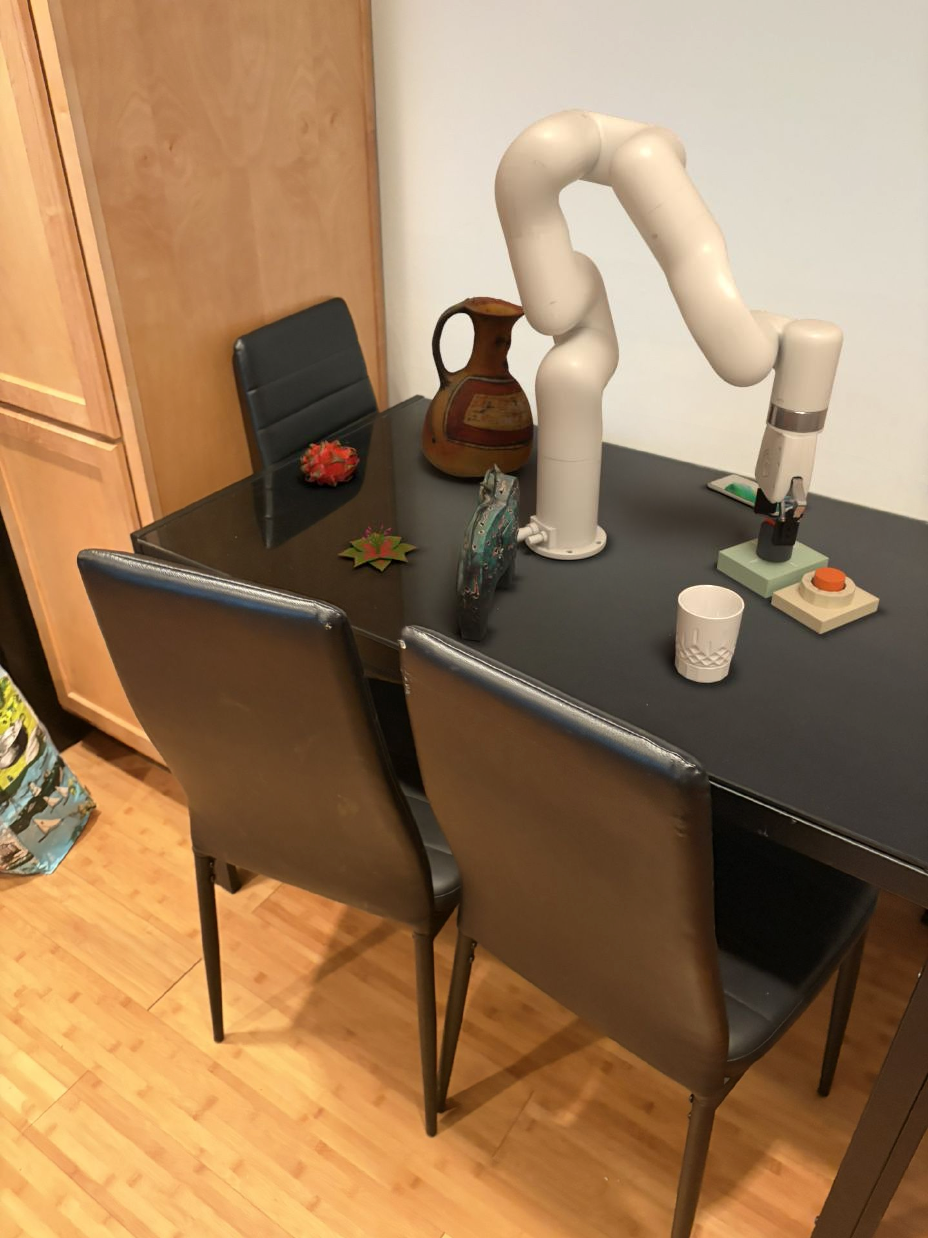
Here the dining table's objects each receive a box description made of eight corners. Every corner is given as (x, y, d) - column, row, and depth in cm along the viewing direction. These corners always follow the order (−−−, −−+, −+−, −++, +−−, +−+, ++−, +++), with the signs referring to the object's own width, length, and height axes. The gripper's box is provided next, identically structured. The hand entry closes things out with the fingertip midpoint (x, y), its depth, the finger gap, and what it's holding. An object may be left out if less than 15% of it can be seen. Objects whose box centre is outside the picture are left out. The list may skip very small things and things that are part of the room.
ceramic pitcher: (535, 489, 169) (539, 316, 152) (420, 491, 169) (411, 318, 153) (530, 445, 185) (533, 285, 169) (425, 447, 185) (418, 287, 169)
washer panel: (765, 598, 137) (768, 579, 135) (716, 568, 144) (719, 550, 142) (825, 575, 142) (829, 556, 140) (775, 548, 149) (778, 529, 147)
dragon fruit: (297, 497, 171) (357, 489, 178) (314, 484, 164) (376, 476, 171) (286, 451, 172) (346, 445, 178) (303, 435, 165) (365, 430, 171)
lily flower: (373, 529, 157) (371, 504, 155) (432, 549, 151) (431, 523, 149) (323, 560, 149) (320, 533, 146) (383, 582, 143) (381, 554, 140)
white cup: (663, 652, 126) (670, 586, 121) (722, 648, 127) (732, 582, 121) (679, 688, 120) (688, 620, 114) (742, 684, 120) (753, 616, 115)
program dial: (798, 557, 141) (804, 527, 138) (773, 565, 139) (778, 536, 136) (774, 543, 144) (779, 514, 142) (748, 551, 142) (753, 522, 140)
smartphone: (733, 472, 171) (803, 501, 160) (733, 477, 171) (803, 506, 161) (705, 482, 167) (775, 513, 157) (705, 487, 168) (774, 517, 157)
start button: (829, 596, 130) (831, 584, 129) (806, 583, 133) (808, 572, 132) (849, 587, 132) (852, 576, 131) (826, 575, 135) (829, 564, 134)
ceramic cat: (487, 569, 146) (487, 444, 135) (529, 574, 144) (532, 449, 133) (448, 640, 130) (443, 505, 119) (494, 647, 128) (494, 511, 117)
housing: (820, 634, 129) (825, 609, 127) (770, 604, 136) (775, 579, 133) (876, 611, 134) (882, 586, 131) (826, 583, 140) (831, 558, 138)
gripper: (752, 392, 137) (733, 501, 147) (786, 440, 123) (762, 558, 132) (805, 393, 137) (782, 501, 147) (845, 441, 123) (817, 558, 132)
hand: (773, 528), depth 139 cm, fingers open, 9 cm apart
